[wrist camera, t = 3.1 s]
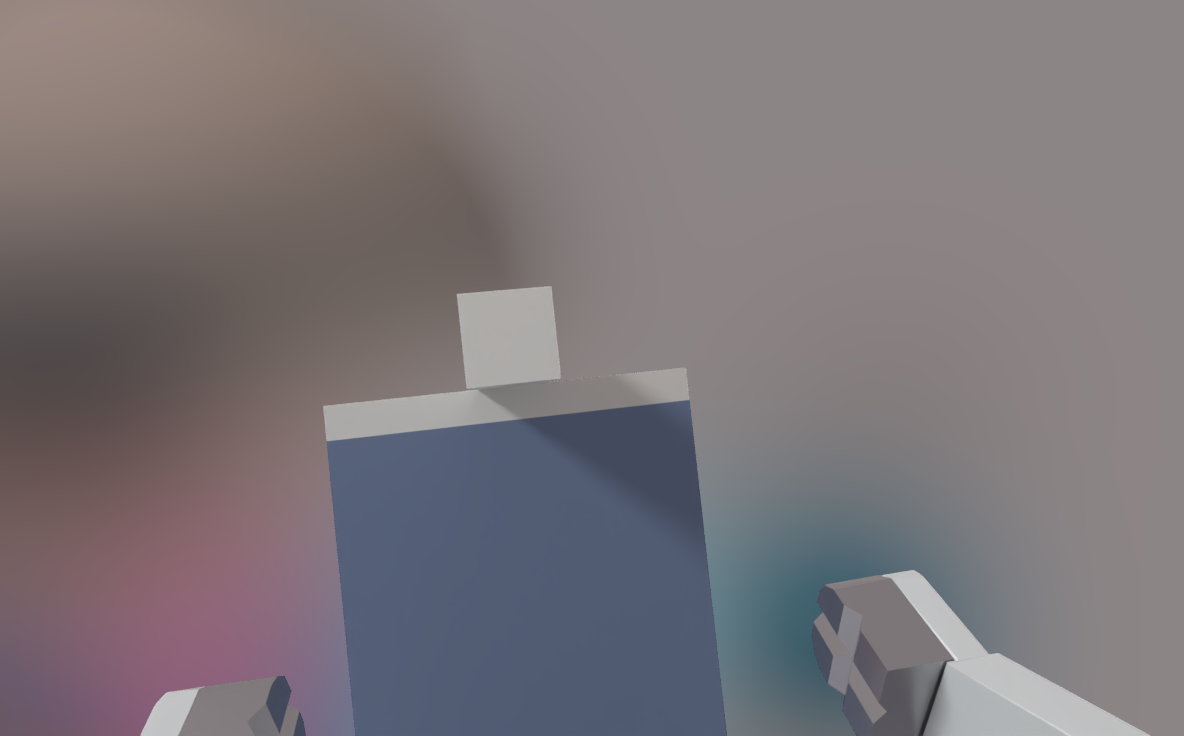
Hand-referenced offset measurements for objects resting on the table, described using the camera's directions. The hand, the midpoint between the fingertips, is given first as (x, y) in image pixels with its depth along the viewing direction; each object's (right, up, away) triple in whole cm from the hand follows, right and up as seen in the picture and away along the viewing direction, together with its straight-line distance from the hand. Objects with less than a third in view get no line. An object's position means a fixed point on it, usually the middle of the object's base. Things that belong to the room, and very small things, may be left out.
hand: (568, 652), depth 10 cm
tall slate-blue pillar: (-1, -23, +24) cm, 33 cm away
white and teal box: (-3, +3, +20) cm, 21 cm away
